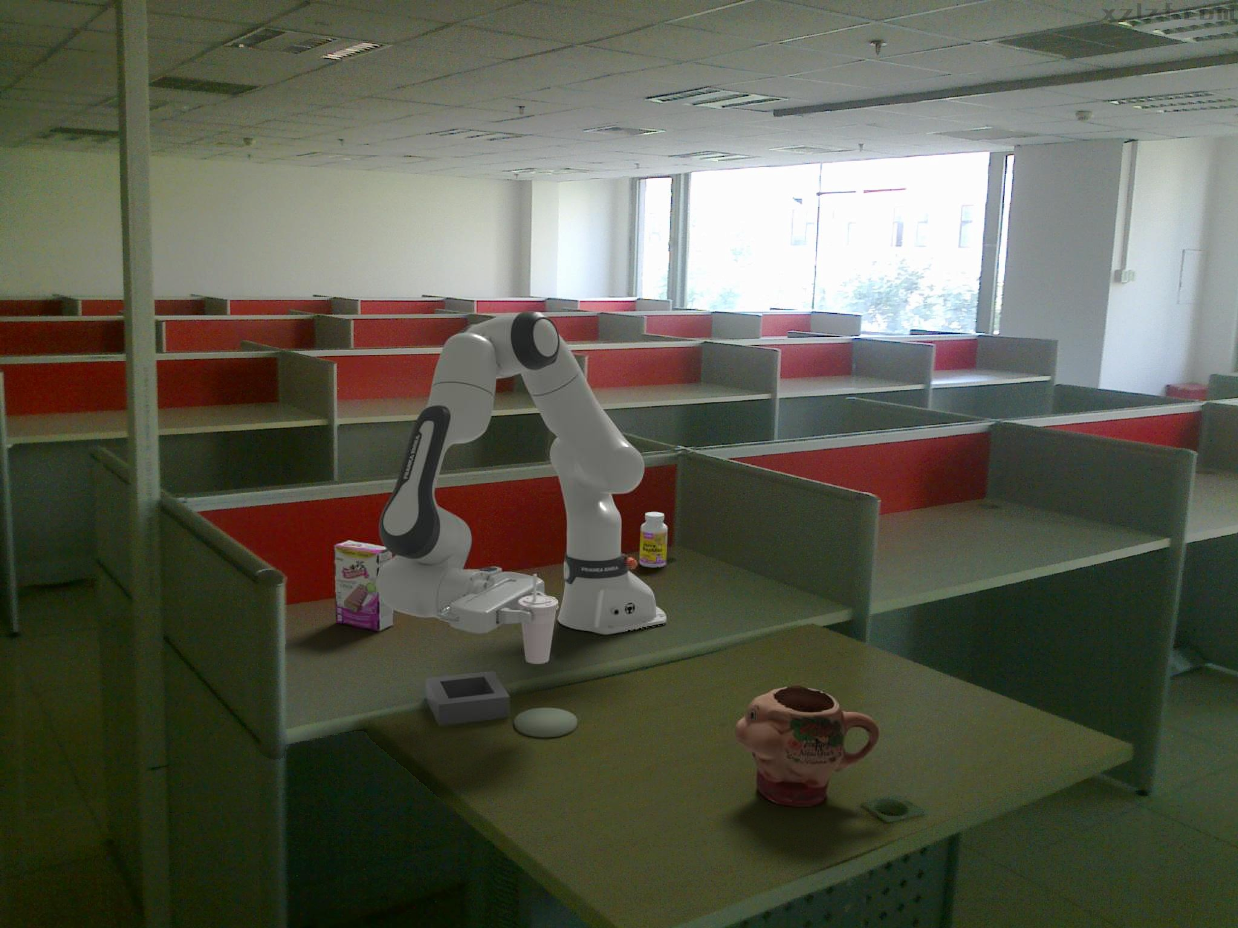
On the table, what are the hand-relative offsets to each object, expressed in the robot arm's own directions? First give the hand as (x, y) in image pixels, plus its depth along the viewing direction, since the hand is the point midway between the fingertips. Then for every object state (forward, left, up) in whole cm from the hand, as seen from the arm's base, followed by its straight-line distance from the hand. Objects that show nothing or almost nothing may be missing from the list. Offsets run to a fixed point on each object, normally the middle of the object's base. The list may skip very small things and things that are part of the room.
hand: (543, 610), depth 167 cm
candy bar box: (+21, -56, -19) cm, 62 cm away
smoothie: (+1, -1, -8) cm, 9 cm away
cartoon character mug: (-29, +32, -19) cm, 47 cm away
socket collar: (+10, -10, -19) cm, 23 cm away
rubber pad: (-1, 0, -19) cm, 19 cm away
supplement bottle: (-52, -82, -19) cm, 99 cm away
